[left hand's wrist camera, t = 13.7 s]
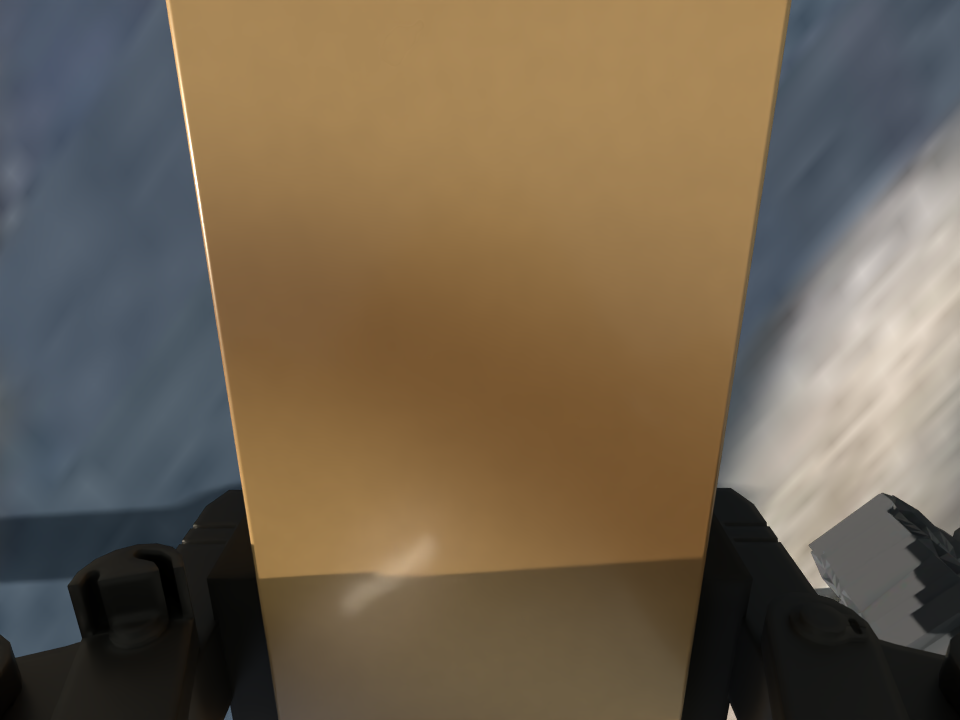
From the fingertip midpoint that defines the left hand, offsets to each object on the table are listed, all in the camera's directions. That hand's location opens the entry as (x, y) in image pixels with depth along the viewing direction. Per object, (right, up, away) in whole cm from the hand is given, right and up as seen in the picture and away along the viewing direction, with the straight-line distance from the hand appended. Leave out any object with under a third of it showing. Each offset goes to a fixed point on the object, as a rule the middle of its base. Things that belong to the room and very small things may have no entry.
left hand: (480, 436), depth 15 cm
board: (0, +24, -9) cm, 25 cm away
